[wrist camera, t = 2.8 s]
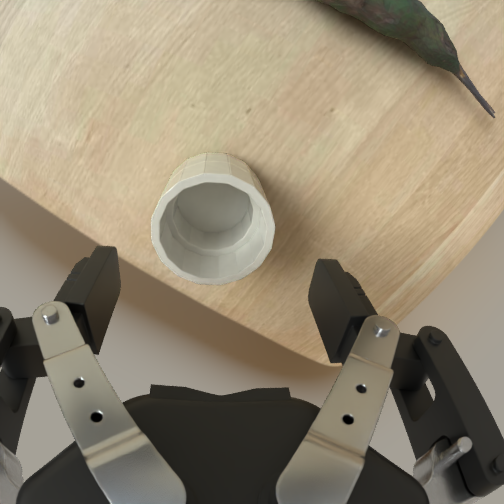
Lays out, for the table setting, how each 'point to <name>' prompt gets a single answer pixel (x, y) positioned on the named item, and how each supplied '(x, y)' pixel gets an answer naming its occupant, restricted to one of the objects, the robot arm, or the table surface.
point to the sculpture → (411, 32)
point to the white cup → (213, 220)
